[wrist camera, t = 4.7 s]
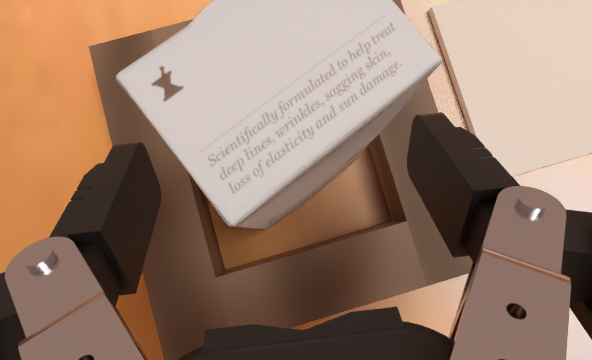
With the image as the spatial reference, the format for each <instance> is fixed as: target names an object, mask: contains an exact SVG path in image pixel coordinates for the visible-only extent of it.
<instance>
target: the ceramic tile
mask: <svg viewBox="0 0 592 360" xmlns="http://www.w3.org/2000/svg"><path fill="white" fill-rule="evenodd" d="M428 12H429V15H430V18H431V21H432V24H433V27H434V30H435V33H436V36H437V39H438V41H439V44H440V47H441V50H442V53H443V56H444V59H445V62H446V65H447V68H448V71H449V74H450V76H451V79H452V82H453V85H454V88H455V91H456V94H457V97H458V100H459V103H460V106H461V109H462V111H463V114H464V117H465V120H466V123H467V126H468V129H469V132H470V133H472V134H474V135H475V136H476V137H477V138H478V139H479V140H480V141H481V142H482V143H483V145H484V146H485V148H487V149H488V150H489V151H490V152H491V154H492V155H493V157H495V158H496V159H497V160H498V161H499V163H500V164H501V165H502V166H503V167H504V168H505V169H506V170H507V172H508V173H509V174H510V175H511V176H515V175H518V174H521V173H525V172H528V171H532V170H535V169H538V168H542V167H545V166H549V165H552V164H555V163H559V162H562V161H566V160H569V159H572V158H576V157H579V156H583V155H586V154H589V153H592V0H454V1H451V2H447V3H443V4H439V5H436V6H432V7H431V8H430V10H429V11H428Z"/></svg>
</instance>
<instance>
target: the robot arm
mask: <svg viewBox="0 0 592 360" xmlns="http://www.w3.org/2000/svg"><path fill="white" fill-rule="evenodd" d="M407 170H408V174H409V177H410V179H411V181H412V183H413V185H414V186H415V188H416V190H417V192H418V194H419V196H420V197H421V199H422V201H423V203H424V205H425V207H426V209H427V210H428V212H429V214H430V216H431V218H432V220H433V222H434V223H435V225H436V227H437V229H438V231H439V233H440V235H441V236H442V238H443V240H444V242H445V244H446V246H447V247H448V249H449V251H450V253H451V255H452V257H453V258H455V257H464V256H470V258H471V260H472V261H473V263H472V266H471V269H470V272H469V275H468V278H467V281H466V284H465V288H464V291H463V294H462V297H461V300H460V303H459V307H458V310H457V313H456V316H455V319H454V322H453V325H452V328H451V331H450V334H449V337H446V336H445V335H443V334H441V333H439V332H437V331H434V330H432V329H430V328H427V327H424V326H421V325H418V324H414V323H410V322H403V321H402V319H401V316H400V313H399V311H398V308H397V307H390V308H382V309H374V310H365V311H357V312H350V313H347V314H345V315H342V316H340V317H337V318H335V319H332V320H329V321H327V322H324V323H322V324H319V325H316V326H314V327H311V328H309V329H305V330H296V329H288V328H280V327H272V326H264V325H256V324H249V325H241V326H233V327H225V328H216V329H208V330H205V335H204V344H203V346H201V347H199V348H196V349H194V350H192V351H190V352H188V353H187V354H185V355H183V356H182V357H180V358H179V359H177V360H566V350H567V336H568V322H569V307H570V308H571V310H572V311H573V313H574V314H575V316H576V317H577V319H578V320H579V322H580V323H581V325H582V326H583V328H584V329H585V331H586V332H587V333H588V335H589V336H590V338H591V339H592V213H591V212H582V211H573V210H566V209H565V208H564V207H563V205H562V204H561V203H560V202H559V201H558V200H557V199H556V198H554V197H553V196H551V195H550V194H548V193H546V192H544V191H541V190H538V189H535V188H531V187H525V186H520V185H519V184H518V183H517V182H516V180H515V179H514V178H513V177H512V176H511V175H510V174H509V173H508V172H507V170H506V169H505V168H504V167H503V166H502V165H501V164H500V163H499V161H498V160H497V159H496V158H495V157H493V155H492V154H491V152H490V151H489V150H488V149H487V148H485V146H484V145H483V143H482V142H481V141H480V140H479V139H478V138H477V137H476V136H475V135H474V134H472V133H470V132H468V131H467V130H465V129H463V128H461V127H456V128H455V127H454V125H453V124H452V123H451V122H450V121H449V119H448V118H447V117H446V116H445V115H444V114H443V113H441V112H440V113H430V114H420V115H416V116H415V117H414V119H413V122H412V128H411V134H410V141H409V147H408V154H407ZM160 205H161V188H160V184H159V181H158V178H157V176H156V173H155V170H154V168H153V165H152V162H151V160H150V157H149V154H148V152H147V149H146V147H145V145H144V144H143V143H141V142H138V143H129V144H119V145H114V146H113V147H112V149H111V151H110V152H109V154H108V156H107V158H106V160H105V162H104V163H100V164H97V165H96V166H95V167H94V168H92V169H91V170H90V171H89V172H88V173H87V174H86V175H84V177H83V179H82V180H81V182H80V184H79V186H78V187H77V191H75V193H74V195H73V196H72V198H71V202H69V203H68V205H67V207H66V209H65V210H64V212H63V214H62V216H61V217H60V219H59V221H58V223H57V225H56V226H55V228H54V230H53V232H52V233H51V235H50V237H49V238H46V239H43V240H40V241H38V242H35V243H33V244H31V245H29V246H28V247H26V248H25V249H23V250H22V251H21V252H19V253H18V254H17V255H16V256H15V257H14V258H13V259H12V260H11V262H10V263H9V264H8V266H7V268H6V271H5V272H4V273H1V274H0V360H148V359H147V357H146V356H145V354H144V352H143V351H142V349H141V347H140V346H139V344H138V343H137V341H136V339H135V338H134V336H133V334H132V333H131V331H130V329H129V328H128V326H127V325H126V323H125V321H124V320H123V318H122V316H121V315H120V313H119V312H118V310H117V308H116V307H115V306H116V303H117V300H118V297H119V295H127V294H135V293H136V291H137V287H138V283H139V280H140V276H141V273H142V269H143V265H144V262H145V258H146V255H147V251H148V248H149V244H150V240H151V237H152V233H153V230H154V226H155V222H156V219H157V215H158V212H159V208H160Z"/></svg>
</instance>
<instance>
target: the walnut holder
mask: <svg viewBox="0 0 592 360" xmlns="http://www.w3.org/2000/svg"><path fill="white" fill-rule="evenodd" d="M393 2H394V3H395V4H396V5H397V6H398V7H399V8H400V10H401V11H402V12H403V13H404V14H405V12H404V9H403V6H402V3H401V0H393ZM192 21H193V20H189V21H185V22H181V23H178V24H174V25H170V26H166V27H162V28H158V29H154V30H151V31H147V32H143V33H139V34H135V35H131V36H127V37H124V38H120V39H116V40H112V41H108V42H104V43H100V44H97V45H93V46H89V50H90V54H91V58H92V62H93V67H94V71H95V75H96V79H97V83H98V87H99V91H100V95H101V99H102V104H103V108H104V112H105V116H106V120H107V124H108V128H109V132H110V137H111V141H112V145H113V146H114V145H119V144H129V143H138V142H141V143H143V144H144V145H145V147H146V149H147V152H148V154H149V157H150V160H151V162H152V165H153V168H154V170H155V173H156V176H157V178H158V181H159V184H160V188H161V205H160V208H159V212H158V215H157V219H156V222H155V226H154V230H153V233H152V237H151V240H150V244H149V248H148V251H147V255H146V258H145V262H144V265H143V273H144V277H145V281H146V285H147V289H148V293H149V297H150V301H151V306H152V310H153V314H154V318H155V322H156V326H157V330H158V334H159V339H160V343H161V347H162V351H163V355H164V359H165V360H177V359H179V358H180V357H182V356H183V355H185V354H187V353H188V352H190V351H192V350H194V349H196V348H199V347H201V346H203V344H204V335H205V330H208V329H216V328H225V327H233V326H241V325H249V324H256V325H264V326H272V327H280V328H291V327H294V326H297V325H301V324H304V323H307V322H311V321H314V320H317V319H320V318H324V317H327V316H330V315H333V314H337V313H340V312H343V311H347V310H350V309H353V308H356V307H360V306H363V305H366V304H369V303H373V302H376V301H379V300H383V299H386V298H389V297H392V296H396V295H399V294H402V293H405V292H409V291H412V290H415V289H419V288H422V287H425V286H428V285H432V284H435V283H438V282H441V281H445V280H448V279H451V278H455V277H458V276H461V275H464V274H468V273H469V272H470V269H471V266H472V263H473V261H472V260H471V258H470V256H464V257H455V258H453V257H452V255H451V253H450V251H449V249H448V247H447V246H446V244H445V242H444V240H443V238H442V236H441V235H440V233H439V231H438V229H437V227H436V225H435V223H434V222H433V220H432V218H431V216H430V214H429V212H428V210H427V209H426V207H425V205H424V203H423V201H422V199H421V197H420V196H419V194H418V192H417V190H416V188H415V186H414V185H413V183H412V181H411V179H410V177H409V174H408V170H407V154H408V147H409V141H410V134H411V128H412V122H413V119H414V117H415V116H416V115H420V114H430V113H438V110H437V107H436V104H435V101H434V98H433V95H432V92H431V89H430V87H429V84H428V81H427V79H426V80H425V81H424V82H423V83H422V85H421V86H420V87H419V88H418V89H417V90H416V91H415V92H414V94H413V95H412V96H411V97H410V99H409V100H408V101H407V103H406V104H405V105H404V106H403V107H402V109H401V110H400V111H399V112H398V113H397V114H396V115H395V116H394V118H393V119H392V120H391V121H390V122H389V123H388V124H387V125H386V126H385V128H384V129H383V130H382V131H381V132H380V133H379V134H378V135H377V136H376V138H375V139H374V140H373V141H372V142H371V143H370V144H369V145H368V146H369V150H370V153H371V156H372V159H373V162H374V166H375V169H376V172H377V175H378V178H379V182H380V185H381V188H382V191H383V194H384V197H385V201H386V204H387V207H388V210H389V213H390V217H391V220H392V221H390V222H387V223H384V224H380V225H377V226H373V227H370V228H367V229H363V230H360V231H356V232H353V233H350V234H346V235H343V236H339V237H336V238H333V239H329V240H326V241H323V242H319V243H316V244H312V245H309V246H306V247H302V248H299V249H295V250H292V251H289V252H285V253H282V254H278V255H275V256H272V257H268V258H265V259H261V260H258V261H255V262H251V263H248V264H245V265H241V266H238V267H234V268H231V269H228V270H225V268H224V264H223V260H222V257H221V253H220V249H219V245H218V242H217V238H216V234H215V230H214V226H213V223H212V219H211V215H210V211H209V208H208V204H207V200H206V196H205V195H204V193H203V192H202V190H201V189H200V188H199V186H198V185H197V183H196V182H195V181H194V179H193V178H192V176H191V175H190V174H189V173H188V171H187V170H186V169H185V167H184V166H183V165H182V163H181V162H180V161H179V160H178V158H177V157H176V156H175V154H174V153H173V152H172V151H171V149H170V148H169V147H168V145H167V144H166V143H165V142H164V140H163V139H162V138H161V136H160V135H159V134H158V133H157V131H156V130H155V129H154V127H153V126H152V125H151V124H150V122H149V121H148V120H147V118H146V117H145V116H144V115H143V113H142V112H141V111H140V110H139V108H138V107H137V106H136V105H135V103H134V102H133V101H132V100H131V98H130V97H129V96H128V95H127V93H126V92H125V91H124V90H123V89H122V87H121V86H120V85H119V84H118V83H117V81H116V75H117V74H118V73H119V72H120V71H121V70H123V69H124V68H126V67H127V66H129V65H130V64H132V63H133V62H135V61H136V60H138V59H139V58H141V57H142V56H144V55H145V54H147V53H148V52H150V51H151V50H153V49H154V48H156V47H157V46H158V45H160V44H161V43H163V42H164V41H166V40H167V39H169V38H170V37H172V36H173V35H174V34H176V33H177V32H179V31H180V30H182V29H183V28H185V27H186V26H187V25H188V24H189V23H191V22H192Z"/></svg>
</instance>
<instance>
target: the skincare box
mask: <svg viewBox="0 0 592 360" xmlns="http://www.w3.org/2000/svg"><path fill="white" fill-rule="evenodd" d="M441 62H442V57H441V56H440V55H439V54H438V53H437V52H436V50H435V49H434V48H433V47H432V46H431V45H430V44H429V43H428V42H427V40H426V39H425V38H424V37H423V36H422V34H421V33H420V32H419V31H418V30H417V28H416V27H415V26H414V25H413V24H412V23H411V21H410V20H409V19H408V18H407V17H406V15H405V14H404V13H403V12H402V11H401V10H400V8H399V7H398V6H397V5H396V4H395V3H394V2H393V0H213V1H212V2H210V3H209V4H208V5H207V6H206V7H205V8H204V9H203V10H201V11H200V12H199V13H198V14H197V15H196V17H195V18H194V19H193V21H192V22H191V23H189V24H188V25H187V26H186V27H185V28H183V29H182V30H180V31H179V32H177V33H176V34H174V35H173V36H172V37H170V38H169V39H167V40H166V41H164V42H163V43H161V44H160V45H158V46H157V47H156V48H154V49H153V50H151V51H150V52H148V53H147V54H145V55H144V56H142V57H141V58H139V59H138V60H136V61H135V62H133V63H132V64H130V65H129V66H127V67H126V68H124V69H123V70H121V71H120V72H119V73H118V74H117V75H116V81H117V83H118V84H119V85H120V86H121V87H122V89H123V90H124V91H125V92H126V93H127V95H128V96H129V97H130V98H131V100H132V101H133V102H134V103H135V105H136V106H137V107H138V108H139V110H140V111H141V112H142V113H143V115H144V116H145V117H146V118H147V120H148V121H149V122H150V124H151V125H152V126H153V127H154V129H155V130H156V131H157V133H158V134H159V135H160V136H161V138H162V139H163V140H164V142H165V143H166V144H167V145H168V147H169V148H170V149H171V151H172V152H173V153H174V154H175V156H176V157H177V158H178V160H179V161H180V162H181V163H182V165H183V166H184V167H185V169H186V170H187V171H188V173H189V174H190V175H191V176H192V178H193V179H194V181H195V182H196V183H197V185H198V186H199V188H200V189H201V190H202V192H203V193H204V195H205V196H206V197H207V199H208V200H209V202H210V203H211V204H212V206H213V207H214V209H215V210H216V212H217V213H218V214H219V216H220V217H221V219H222V220H223V221H224V222H225V223H226V225H228V226H229V227H242V228H253V229H267V228H268V227H270V226H272V225H273V224H275V223H276V222H277V221H279V220H280V219H282V218H283V217H285V216H286V215H288V214H289V213H291V212H292V211H293V210H295V209H296V208H298V207H299V206H300V205H302V204H303V203H304V202H306V201H307V200H308V199H310V198H311V197H312V196H313V195H315V194H316V193H317V192H318V191H320V190H321V189H322V188H323V187H325V186H326V185H327V184H328V183H330V182H331V181H332V180H333V179H335V178H336V177H337V176H338V175H339V174H341V173H342V172H343V171H344V170H345V169H346V168H348V167H349V166H350V165H351V164H352V163H353V162H354V161H355V160H356V158H357V157H358V156H359V155H360V154H361V153H362V152H363V151H364V150H365V149H366V147H367V146H368V145H369V144H370V143H371V142H372V141H373V140H374V139H375V138H376V136H377V135H378V134H379V133H380V132H381V131H382V130H383V129H384V128H385V126H386V125H387V124H388V123H389V122H390V121H391V120H392V119H393V118H394V116H395V115H396V114H397V113H398V112H399V111H400V110H401V109H402V107H403V106H404V105H405V104H406V103H407V101H408V100H409V99H410V97H411V96H412V95H413V94H414V92H415V91H416V90H417V89H418V88H419V87H420V86H421V85H422V83H423V82H424V81H425V80H426V79H427V78H428V77H429V76H430V75H431V73H432V72H433V71H434V70H435V69H436V68H437V67H438V66H439V65H440V64H441Z"/></svg>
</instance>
